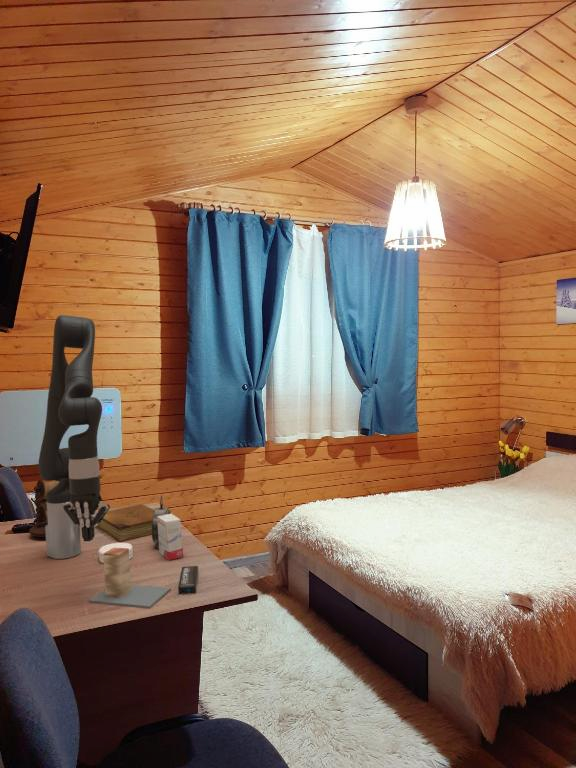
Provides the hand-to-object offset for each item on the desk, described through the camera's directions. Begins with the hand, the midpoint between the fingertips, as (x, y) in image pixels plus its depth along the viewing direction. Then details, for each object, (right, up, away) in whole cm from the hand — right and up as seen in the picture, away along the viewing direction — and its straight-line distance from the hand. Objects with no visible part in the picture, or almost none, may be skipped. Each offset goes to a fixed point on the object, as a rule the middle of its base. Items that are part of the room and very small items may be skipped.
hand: (88, 540), depth 151 cm
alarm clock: (+12, -12, +37) cm, 40 cm away
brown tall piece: (-31, -12, +52) cm, 61 cm away
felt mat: (+12, -14, -3) cm, 18 cm away
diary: (-3, -11, +55) cm, 57 cm away
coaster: (-1, -13, +26) cm, 29 cm away
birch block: (+8, -13, -2) cm, 16 cm away
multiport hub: (+25, -13, +5) cm, 29 cm away
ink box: (+16, -12, +27) cm, 33 cm away
